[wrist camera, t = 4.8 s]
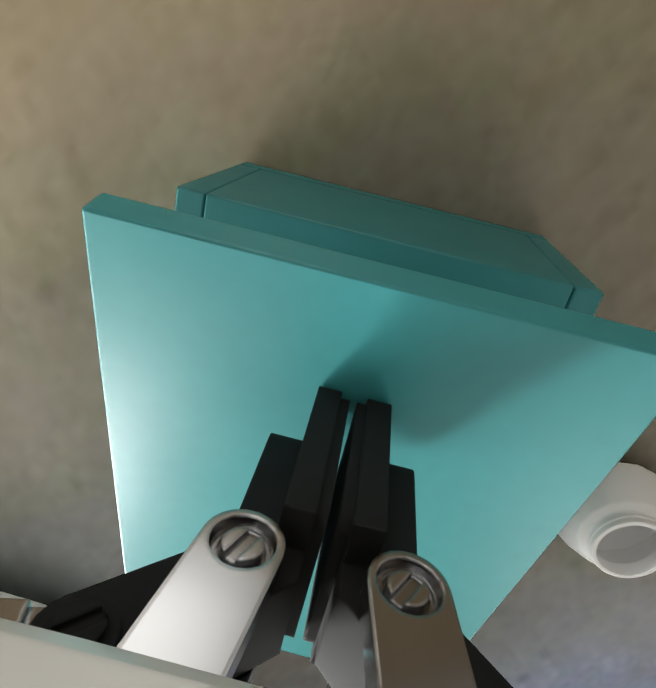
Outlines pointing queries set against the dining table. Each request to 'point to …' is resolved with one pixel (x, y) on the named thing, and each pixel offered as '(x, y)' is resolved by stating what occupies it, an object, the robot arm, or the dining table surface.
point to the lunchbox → (390, 233)
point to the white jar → (618, 523)
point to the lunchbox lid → (350, 389)
